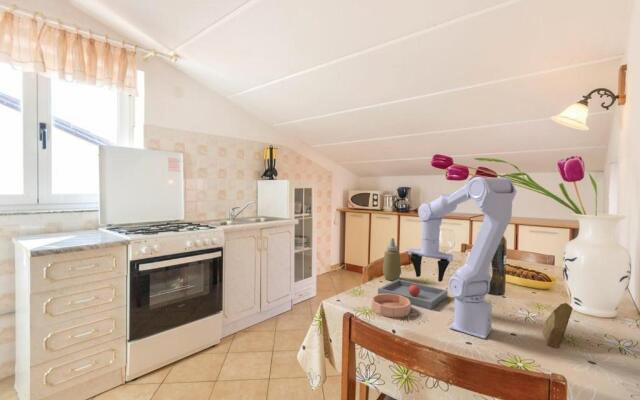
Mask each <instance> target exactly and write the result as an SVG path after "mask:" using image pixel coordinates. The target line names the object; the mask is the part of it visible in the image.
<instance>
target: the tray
mask: <svg viewBox="0 0 640 400" xmlns="http://www.w3.org/2000/svg"><path fill="white" fill-rule="evenodd" d="M411 285H416V286H418V287H419V289H420V293H419V295H417V296H412V295H410V293H409V287H410V286H411ZM387 293H389V294H396V295H401V296H403V297H405V298H408V299H409V301H410V303H411V306H412V305H413V306H415V307H419V308H422V309H427V310H430V311H431V310H433V309H434V308H435V307H437V306H438V305H439V304H440V303H441V302H443V301H444V300H445V299H447V298H448V295H449V294H448V290H447V289H443V288H439V287H435V286H429V285H426V284H422V283H421V284H420V283H416V282H412V281H407V280H403V279H400V278H399V279H397V280H394V281H391V282H390V283H388V284H385V285H383V286H381V287H378V288H377V294H387Z"/></svg>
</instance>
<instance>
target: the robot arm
mask: <svg viewBox="0 0 640 400" xmlns="http://www.w3.org/2000/svg"><path fill="white" fill-rule="evenodd" d="M516 194H517V190H516V186H515V185H514V183H513V181H512V180H511V179H510V178H508V177H504V176H503V177H486V176H485V177H483V176H475V177H474V178H472V179H470V180H468V181H467V182H466V184H465V185H463V186H462V187H460V188H459V189H457V190H456V191H455V192H453V193H452V194H448V193H441V194H440V195H439V197H438V198H436V199H433V200H431V202H429V203H421V205H419V207H418V210H417V211H418V212H417V213H418V214H417V215H418V217H419V219H420V220H421V239H420V241H421V242H420V243H421V245H420V249H418V248H409V249H408V255H409V256H410V257H409V260H410V261H411V264H412V266H413V268H414V271H415V277H417V278H420V277H421V275H422V259H423V257H425V258H430V259H435V260H436V259H437V266H438V274H437V275H438V276H437V277H438V278H437V281H438V282H439V283H441V282H442V281H443V280H444V276H445V273H446V270H447V268H448V266H449V265H450V263H451V262H453V259H454V255H453V254H450V253H446V252H441V251H440V226H441V225H442V220H443V219H444V217H445V216H446V215H448V214H450V213H452V212H454V211H455V210H456V209H457V206H458V205H461V204H463V203H465V202H467V201H468V200H472V201H473V202H474V204H475V205H476V207H477V208H478V209H479V211H480V212H482V213H483V215H484V218H483V220H482V222H481V225H480V227H479V230H478V232H477V235H476V238H475V240H474V242H473V245H472V247H471V250H470V252H469V255H468V257H467V259H466V261H465V264H463V265H462V266H460V267H459V268H457V269H456V270H455V272H454V274H453V275H452V276H451V277H450V278H449V281H448V289H449V291H450V293H451V295H452V297H454V309H453V310H454V313H453V315H454V316H453V322H452V323H451V324H450V325H449V326H448V328H449V329H450V330H454V331H458V332H461V333H463V334H464V333H465V334H468V335H471V336H473V337H474V336H475V337H477V338H481V339H487V337H488V335H489V334H490V332H491V331H492V330H493V328H492V318H493V305H492V302H488V301H485V298H486V297H485V296H486V295H488V294H489V292H490V288H491V287H490V285H491V279H492V276H491V275H490V273H489V272H488V269H489V268H490V265H491V263H492V261H493V258H494V256H495V254H496V252H497V250H498V248H499V245H500V243H501V241H502V239H503V237H504V234H505V232H506V229H507V227H508V225H509V224H510V221H511V218H512V212H513V202H514V199H515V197H516Z"/></svg>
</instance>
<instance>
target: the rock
mask: <svg viewBox="0 0 640 400" xmlns="http://www.w3.org/2000/svg"><path fill="white" fill-rule="evenodd" d="M573 309H574V308H573V307H572V306H571V305H570V304H568V303H567V302H564V303H561V304H559V305H558V306H556V308H555V309H553V311H552V312H551V314H550V315H548V318H547V319H546V321H545V326H544V327H545V328H544V331H543V332H542V334H543V337H544V338H545V340H546V341H547V342H546V343H547V345H549V346H552V347H553V348H557V349H559V348H560V346H561V343H562V342H563V339H564V335H565V333H566V330H567V327H568V324H569V321H570V318H571V315H572V313H573V312H572V311H573Z"/></svg>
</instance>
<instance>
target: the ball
mask: <svg viewBox="0 0 640 400" xmlns="http://www.w3.org/2000/svg"><path fill="white" fill-rule="evenodd" d="M409 293H410V295H412V296H417V295H419V293H420V289H419V287H418V286H416V285H411V286H410V287H409Z"/></svg>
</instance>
